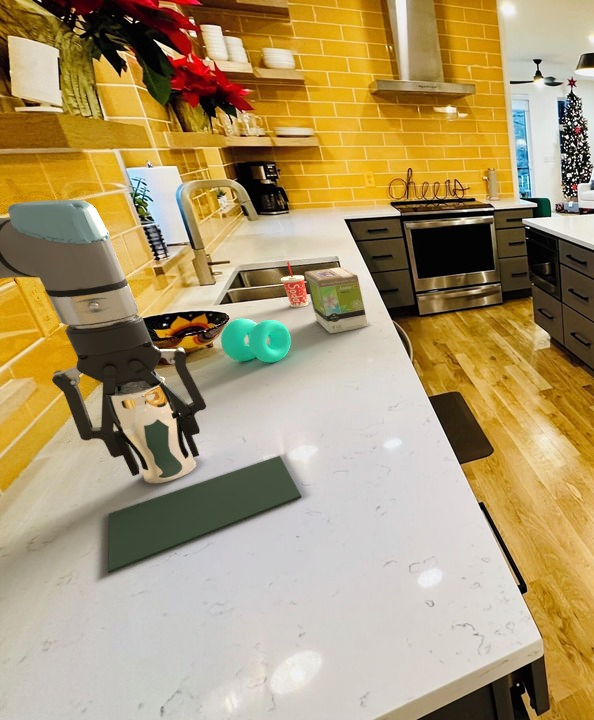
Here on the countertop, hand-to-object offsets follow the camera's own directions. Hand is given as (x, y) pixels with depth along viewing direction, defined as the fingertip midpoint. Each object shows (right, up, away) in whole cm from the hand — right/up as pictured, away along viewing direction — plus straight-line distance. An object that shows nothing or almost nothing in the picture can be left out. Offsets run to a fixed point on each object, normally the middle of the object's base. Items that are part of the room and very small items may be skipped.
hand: (166, 461), depth 77 cm
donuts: (-16, +15, +41) cm, 47 cm away
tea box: (-12, +26, +65) cm, 71 cm away
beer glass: (0, -2, +1) cm, 2 cm away
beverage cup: (-35, +33, +81) cm, 94 cm away
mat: (+12, -5, -6) cm, 15 cm away
